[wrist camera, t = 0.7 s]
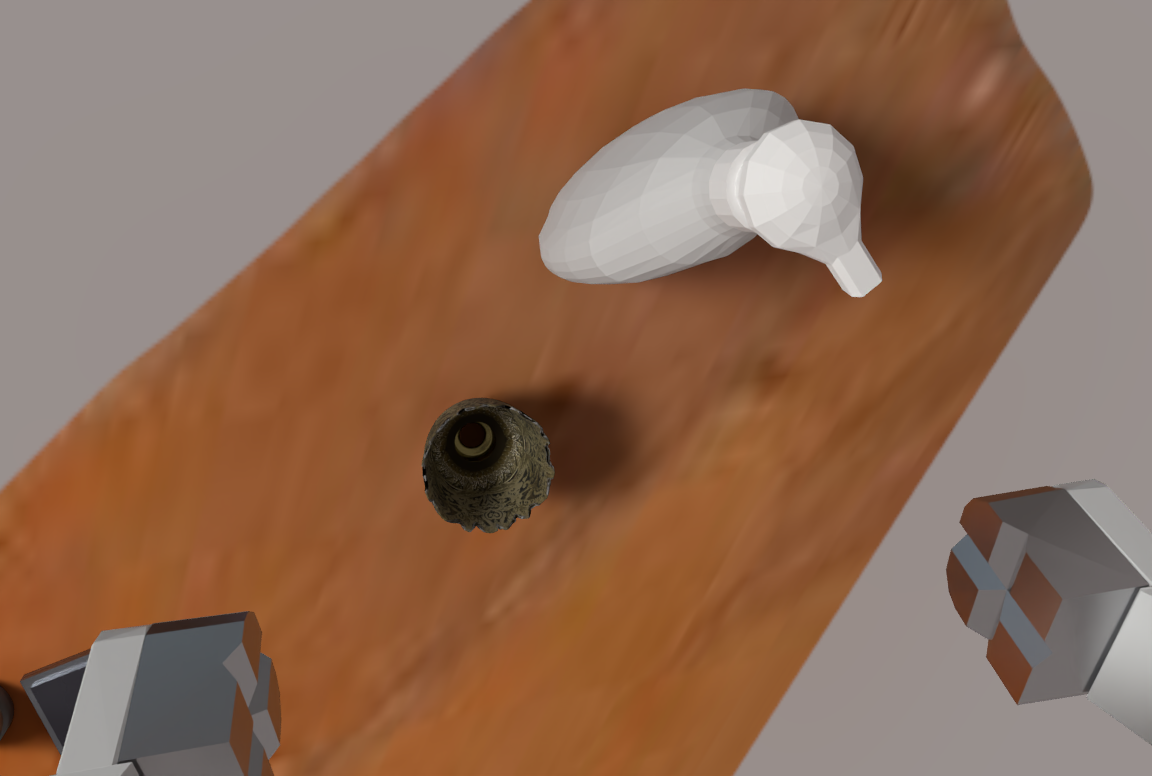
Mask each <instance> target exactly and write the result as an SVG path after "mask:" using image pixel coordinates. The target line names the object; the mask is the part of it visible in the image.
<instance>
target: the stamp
mask: <svg viewBox="0 0 1152 776" xmlns="http://www.w3.org/2000/svg"><path fill="white" fill-rule="evenodd" d="M13 715H14V706H13V702H12V700H11V697H10V696H9V694H8V693H7V692H6V691H5V689H3V688H2V687H1V686H0V740H1V739H2V737H3V736H4V734H5V732H6V731H7V729H8V728H9V726H10V724H11V722H12V719H13Z"/></svg>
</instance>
